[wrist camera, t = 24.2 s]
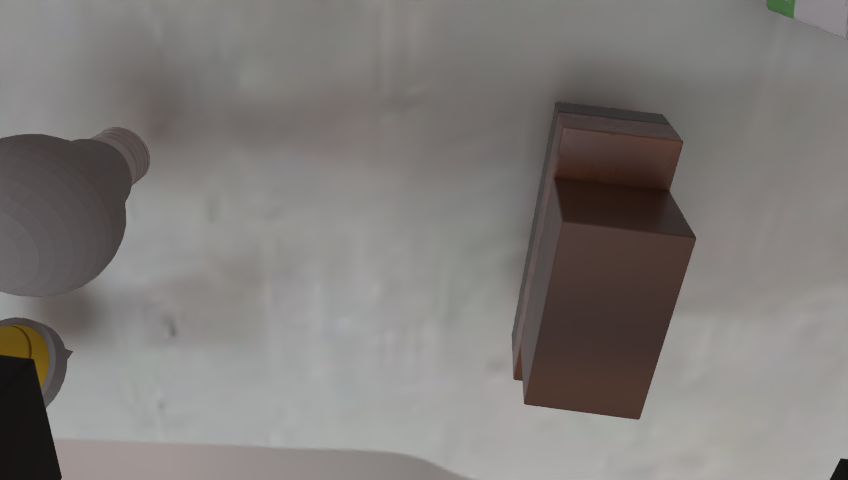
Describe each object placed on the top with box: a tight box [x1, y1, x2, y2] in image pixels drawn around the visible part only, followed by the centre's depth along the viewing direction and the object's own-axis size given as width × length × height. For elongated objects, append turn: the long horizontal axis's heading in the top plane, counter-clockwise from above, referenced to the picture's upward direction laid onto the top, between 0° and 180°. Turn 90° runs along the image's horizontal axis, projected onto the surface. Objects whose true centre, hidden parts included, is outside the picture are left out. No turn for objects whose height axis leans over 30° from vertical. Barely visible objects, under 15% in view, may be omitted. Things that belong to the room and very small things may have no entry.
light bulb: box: [0, 127, 150, 297], centre depth 27 cm, size 6×6×10 cm
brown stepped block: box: [512, 102, 696, 420], centre depth 28 cm, size 12×4×8 cm, turn 175°
